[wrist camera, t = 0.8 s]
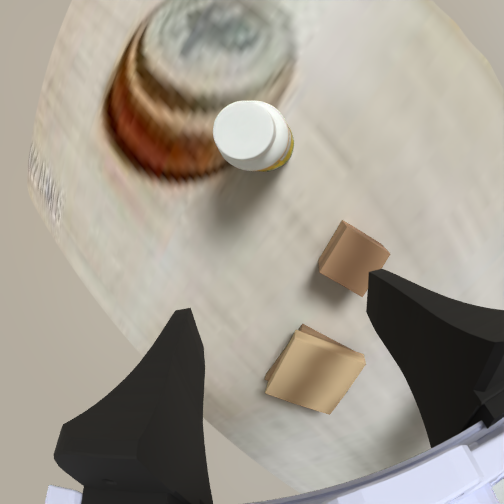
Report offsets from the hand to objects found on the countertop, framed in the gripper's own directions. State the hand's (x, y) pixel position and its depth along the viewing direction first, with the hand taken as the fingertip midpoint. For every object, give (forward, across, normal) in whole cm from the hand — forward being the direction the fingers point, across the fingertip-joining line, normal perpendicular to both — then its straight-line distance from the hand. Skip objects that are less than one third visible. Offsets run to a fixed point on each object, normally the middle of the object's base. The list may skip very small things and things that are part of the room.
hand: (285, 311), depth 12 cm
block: (+15, -9, +6) cm, 19 cm away
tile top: (+12, -4, +19) cm, 23 cm away
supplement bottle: (+20, -3, -4) cm, 20 cm away
